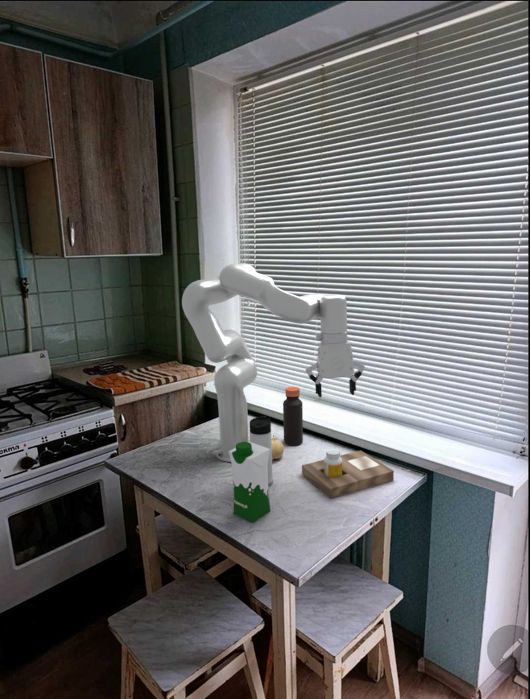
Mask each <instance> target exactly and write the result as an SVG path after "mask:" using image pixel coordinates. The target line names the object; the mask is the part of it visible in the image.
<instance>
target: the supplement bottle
mask: <svg viewBox="0 0 530 699" xmlns="http://www.w3.org/2000/svg"><path fill="white" fill-rule="evenodd" d="M325 452H326V454H325V455H326V456H325V457H324V459H323V460H324V475H326V476H327V477H328V478H330V479H331V478H334V477H338V476H342V459H341V457H340V455H341V451H340V449H338V448H328V449H327V450H326V451H325Z"/></svg>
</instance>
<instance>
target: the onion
mask: <svg viewBox="0 0 530 699" xmlns="http://www.w3.org/2000/svg"><path fill="white" fill-rule="evenodd" d="M271 441H272V461H274V460H278V459H280V458H281V457H282V456H283V454H284V449H285V448H284V444H283V442H282V441H281V440H280V439H278V437H277V436H275V435H274V434H273V435H272V437H271Z"/></svg>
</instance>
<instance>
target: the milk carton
mask: <svg viewBox="0 0 530 699" xmlns="http://www.w3.org/2000/svg"><path fill="white" fill-rule="evenodd" d="M269 453H270V449H269V448H266V447H263V446H260V445H257V444H255V443H252V442H250V441H249V442H241V443H238V444H236V448H234V449H232V450H230V451H229V455H230V459H231V462H230V463H231V466H232V484H233V509H232V510H233V514H234V515H235V516H237V517H239V518H241V519H244V520H245V521H247V522H249V523H252V524H254V523H255V522H256V521H258V520H259V519H261V518H263V517H264V516H265V515H267V514H269V513H270V512H271V505H270V503H271V502H270V497H269V487H268V459H269Z"/></svg>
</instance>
